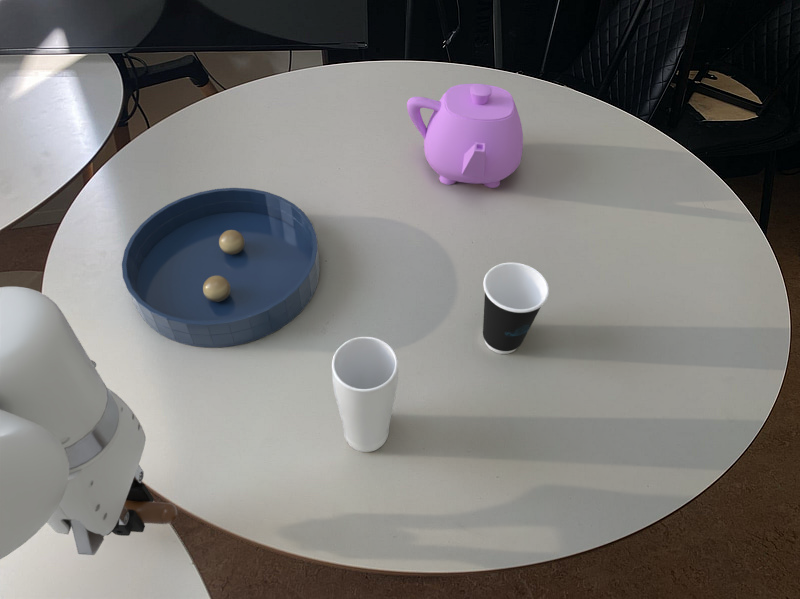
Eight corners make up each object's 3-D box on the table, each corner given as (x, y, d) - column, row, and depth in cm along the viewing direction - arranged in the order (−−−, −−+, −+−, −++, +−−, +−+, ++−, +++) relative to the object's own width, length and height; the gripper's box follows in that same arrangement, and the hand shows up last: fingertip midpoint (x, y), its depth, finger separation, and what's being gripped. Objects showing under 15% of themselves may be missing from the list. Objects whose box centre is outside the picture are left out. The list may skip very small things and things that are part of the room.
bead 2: (243, 260, 88) (239, 242, 85) (219, 259, 88) (214, 241, 85) (248, 243, 90) (244, 225, 87) (224, 241, 90) (220, 223, 87)
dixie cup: (515, 374, 77) (532, 321, 69) (461, 345, 80) (471, 292, 71) (540, 333, 82) (559, 279, 73) (489, 307, 84) (501, 252, 76)
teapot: (398, 207, 97) (401, 127, 86) (407, 135, 110) (411, 57, 98) (520, 217, 96) (540, 137, 85) (515, 143, 109) (531, 65, 98)
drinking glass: (402, 417, 73) (407, 345, 61) (384, 467, 68) (386, 400, 57) (349, 401, 74) (345, 327, 62) (329, 449, 70) (320, 380, 58)
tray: (305, 353, 78) (301, 330, 74) (105, 341, 78) (91, 318, 75) (330, 217, 95) (328, 192, 91) (165, 207, 95) (156, 183, 91)
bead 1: (229, 308, 82) (224, 290, 79) (203, 306, 82) (197, 289, 79) (235, 288, 84) (230, 270, 81) (209, 286, 84) (204, 269, 81)
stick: (175, 528, 59) (170, 520, 58) (85, 522, 59) (77, 514, 58) (181, 508, 61) (177, 500, 59) (92, 502, 61) (85, 494, 59)
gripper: (59, 337, 51) (124, 440, 65) (-40, 521, 41) (63, 598, 55) (146, 342, 51) (193, 445, 65) (70, 528, 41) (145, 603, 55)
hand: (133, 514), depth 60 cm, fingers closed on stick, 2 cm apart
